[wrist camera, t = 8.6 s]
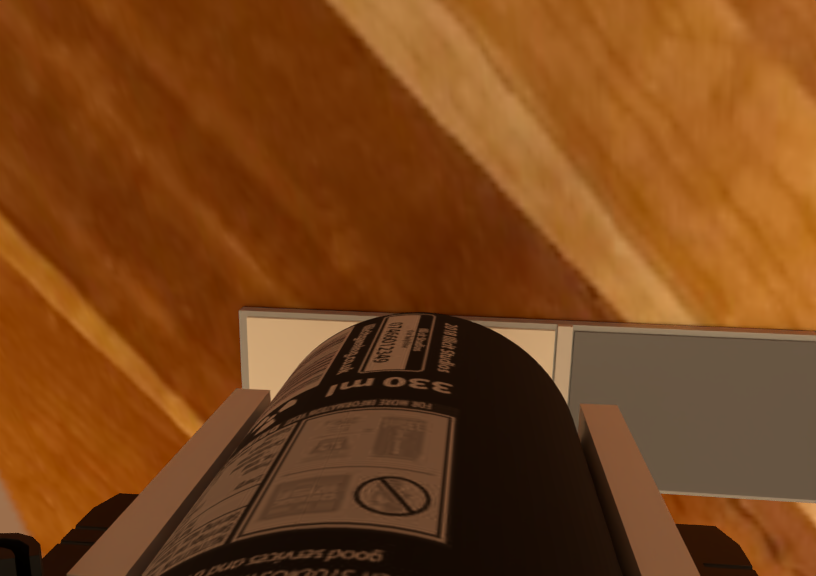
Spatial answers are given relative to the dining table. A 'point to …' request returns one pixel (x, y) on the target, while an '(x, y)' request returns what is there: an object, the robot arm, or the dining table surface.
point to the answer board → (634, 390)
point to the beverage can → (403, 467)
